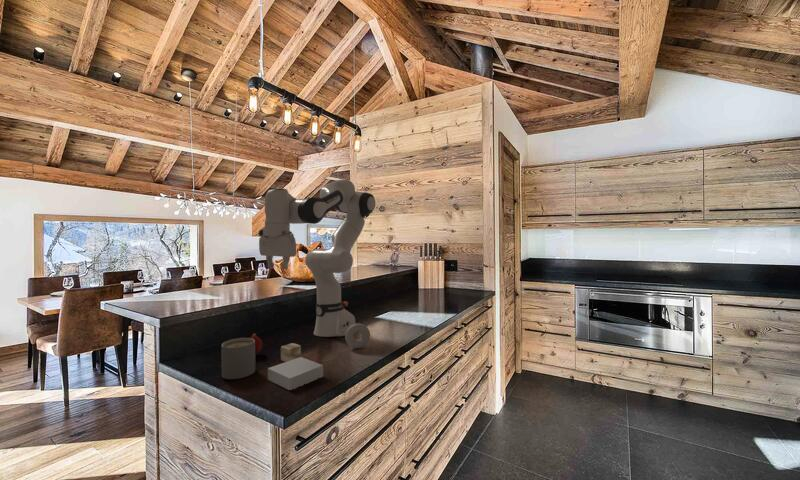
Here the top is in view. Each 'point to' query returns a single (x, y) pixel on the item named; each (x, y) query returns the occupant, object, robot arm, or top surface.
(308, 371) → the painted block
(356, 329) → the donut
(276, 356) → the top surface
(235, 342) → the coffee mug
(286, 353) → the maple cube
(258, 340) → the onion
